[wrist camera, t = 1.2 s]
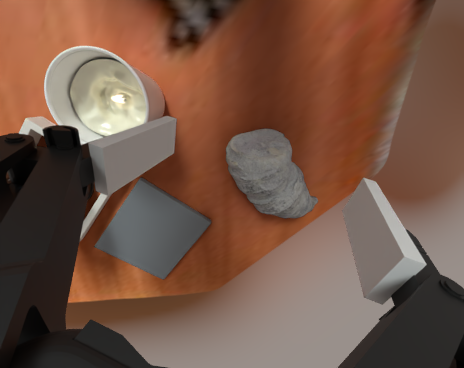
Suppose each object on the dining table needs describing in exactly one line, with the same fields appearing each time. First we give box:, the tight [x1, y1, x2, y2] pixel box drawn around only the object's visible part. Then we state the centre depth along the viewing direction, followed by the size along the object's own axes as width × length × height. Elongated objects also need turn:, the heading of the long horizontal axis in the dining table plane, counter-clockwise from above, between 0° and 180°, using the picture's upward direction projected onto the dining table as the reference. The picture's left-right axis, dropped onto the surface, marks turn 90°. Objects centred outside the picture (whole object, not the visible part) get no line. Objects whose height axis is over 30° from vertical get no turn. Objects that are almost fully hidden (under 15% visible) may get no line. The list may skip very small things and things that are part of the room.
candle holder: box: [44, 46, 165, 144], centre depth 27 cm, size 10×10×12 cm
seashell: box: [226, 129, 318, 218], centre depth 34 cm, size 16×15×10 cm
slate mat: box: [94, 177, 211, 280], centre depth 41 cm, size 15×17×1 cm
